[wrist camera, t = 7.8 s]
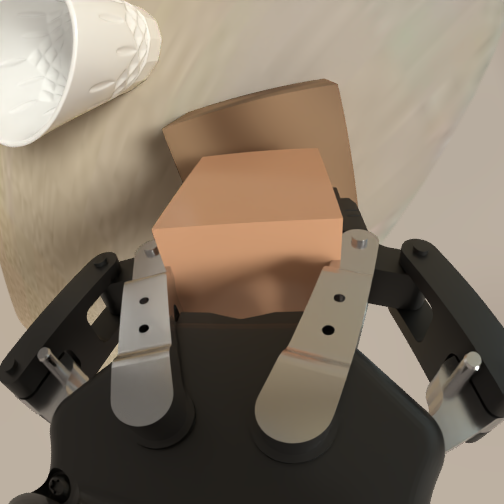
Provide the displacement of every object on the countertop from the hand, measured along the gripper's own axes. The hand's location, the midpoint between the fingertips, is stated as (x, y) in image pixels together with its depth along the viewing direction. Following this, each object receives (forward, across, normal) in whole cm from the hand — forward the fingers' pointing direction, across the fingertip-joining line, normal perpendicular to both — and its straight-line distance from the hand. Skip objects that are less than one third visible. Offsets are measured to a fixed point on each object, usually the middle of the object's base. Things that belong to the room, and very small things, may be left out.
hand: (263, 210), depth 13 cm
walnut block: (+8, 0, 0) cm, 8 cm away
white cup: (+8, +9, -10) cm, 15 cm away
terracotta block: (+1, 0, 0) cm, 1 cm away
